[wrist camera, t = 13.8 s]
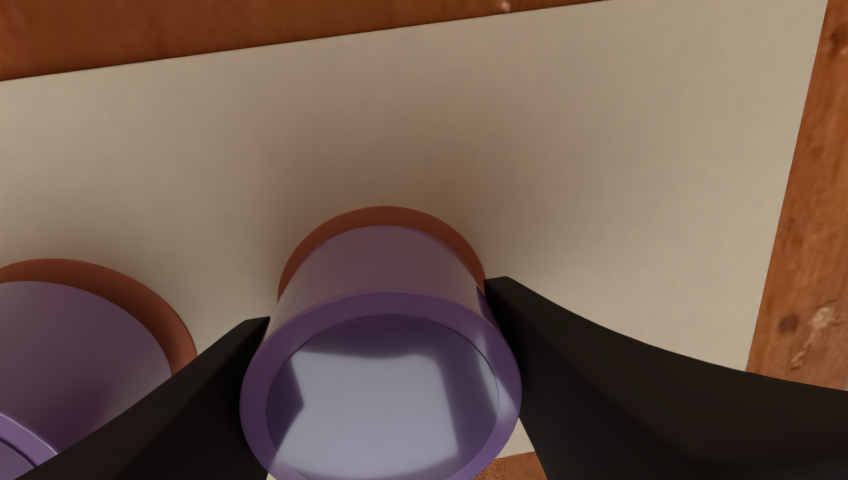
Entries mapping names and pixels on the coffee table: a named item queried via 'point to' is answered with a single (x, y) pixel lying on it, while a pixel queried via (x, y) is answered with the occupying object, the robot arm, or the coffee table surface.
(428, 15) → the coffee table surface
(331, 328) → the purple cup
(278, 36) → the coffee table surface
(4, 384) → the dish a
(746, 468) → the robot arm
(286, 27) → the coffee table surface
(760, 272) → the mat
